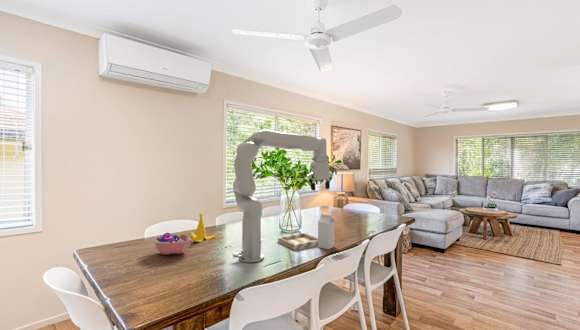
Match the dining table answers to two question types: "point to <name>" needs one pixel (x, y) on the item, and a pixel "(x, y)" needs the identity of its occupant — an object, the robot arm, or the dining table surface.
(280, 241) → the serving tray
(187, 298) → the dining table surface
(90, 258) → the dining table surface
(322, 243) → the milk carton
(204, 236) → the banana peel
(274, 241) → the dining table surface
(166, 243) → the cell model
